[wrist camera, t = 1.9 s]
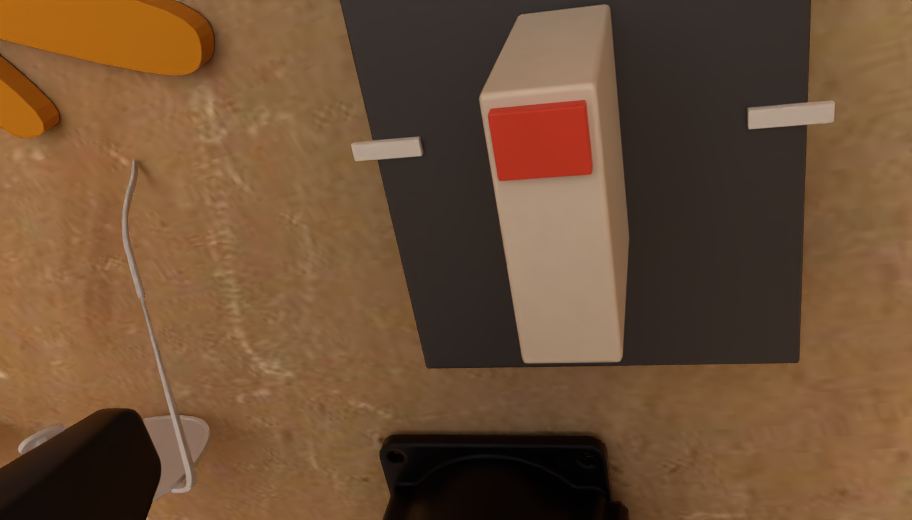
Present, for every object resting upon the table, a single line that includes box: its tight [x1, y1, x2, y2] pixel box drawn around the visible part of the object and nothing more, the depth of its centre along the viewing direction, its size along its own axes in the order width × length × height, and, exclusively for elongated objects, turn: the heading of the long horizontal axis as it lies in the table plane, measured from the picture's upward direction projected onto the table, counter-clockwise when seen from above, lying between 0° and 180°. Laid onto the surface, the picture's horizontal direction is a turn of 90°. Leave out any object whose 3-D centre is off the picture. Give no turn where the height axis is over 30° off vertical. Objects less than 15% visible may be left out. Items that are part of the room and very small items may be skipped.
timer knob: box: [479, 4, 629, 364], centre depth 14 cm, size 5×2×4 cm, turn 10°
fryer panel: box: [340, 0, 835, 368], centre depth 17 cm, size 9×11×3 cm
